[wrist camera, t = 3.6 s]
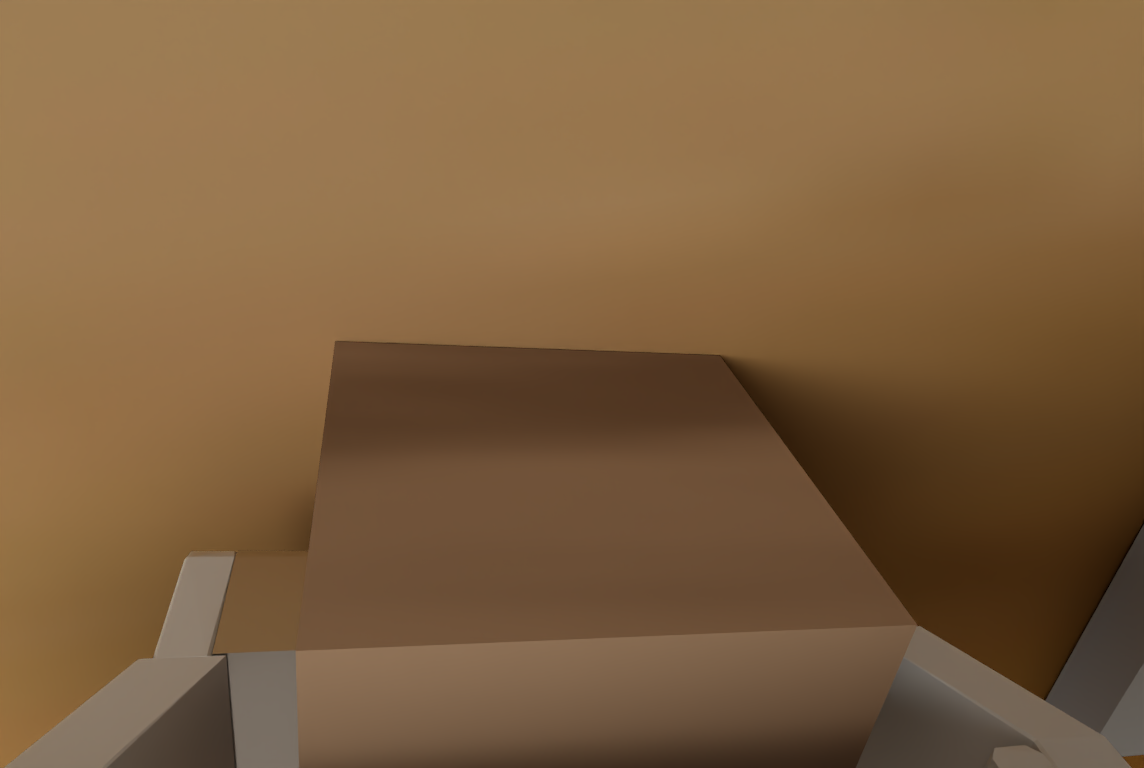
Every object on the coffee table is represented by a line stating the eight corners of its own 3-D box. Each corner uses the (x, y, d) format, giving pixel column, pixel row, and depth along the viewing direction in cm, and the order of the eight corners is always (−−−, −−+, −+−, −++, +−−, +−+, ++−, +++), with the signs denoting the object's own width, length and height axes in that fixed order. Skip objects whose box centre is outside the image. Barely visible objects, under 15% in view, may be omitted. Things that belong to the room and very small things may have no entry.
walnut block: (335, 341, 10) (296, 651, 6) (719, 355, 11) (917, 624, 7) (335, 642, 13) (305, 1020, 8) (654, 629, 14) (773, 957, 9)
